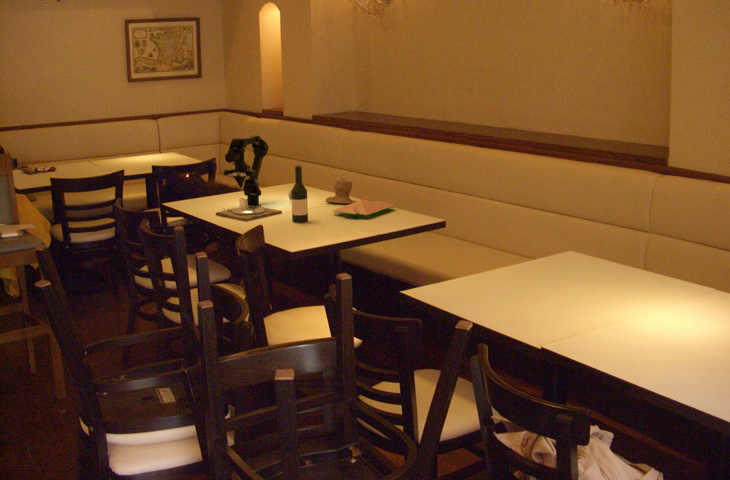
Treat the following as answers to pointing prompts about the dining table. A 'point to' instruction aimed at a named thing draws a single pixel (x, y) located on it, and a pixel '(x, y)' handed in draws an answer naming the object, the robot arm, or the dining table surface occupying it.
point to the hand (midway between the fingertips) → (240, 187)
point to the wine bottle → (299, 199)
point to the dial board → (248, 217)
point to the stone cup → (341, 192)
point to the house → (364, 208)
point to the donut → (290, 194)
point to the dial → (247, 208)
